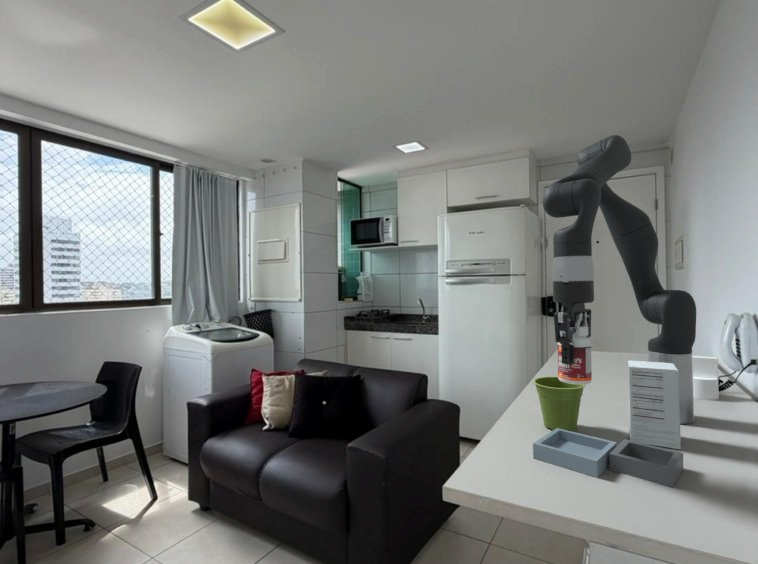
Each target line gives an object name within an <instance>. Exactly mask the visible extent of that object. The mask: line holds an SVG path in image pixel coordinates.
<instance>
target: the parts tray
mask: <svg viewBox="0 0 758 564" xmlns="http://www.w3.org/2000/svg"><path fill="white" fill-rule="evenodd" d="M617 446H618V442H617V441H612V440H608V439H604V438H600V437H596V436H592V435H587V434H584V433H579V432H576V431H567V430H563V429H559V428H556V429H555V430H551V431H550V432H549V433H547V434H545V435H544V436H542V437H541V438H540V439H539V438H538V439H537V440H536V441H534V442H533V443H532V457H533V459H536V460H538V461H541V462H545V463H548V464H551V465H555V466H558V467H560V468H565V469H567V470H569V471H574V472H578V473H580V474H584V475H586V476H591V477H594V478H596V479H598V477H600V475H602V474H603V472H604V471H605V470H606V469H608V467H610V460H609V454H610V453H611V452H612V451H613V450H614V449H615V448H616V447H617Z"/></svg>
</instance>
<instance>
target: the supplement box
mask: <svg viewBox="0 0 758 564" xmlns="http://www.w3.org/2000/svg"><path fill="white" fill-rule="evenodd" d="M627 378H628V382H627V383H628V393H629V394H628V396H629V397H628V422H629V423H628V424H629V440H630V441H634V442H639V443H643V444H647V445H652V446H656V447H660V448H666V449H667V448H668V449H675V450H678V451H679V450H681V448H682V446H681V445H682V443H681V442H682V441H681V440H682V439H681V424H680V403H679V371H678V370H677V368H676V367H675V365H674V364H673V363H663V362H649V361H647V360H646V361H645V360H643V361H642V360H627Z"/></svg>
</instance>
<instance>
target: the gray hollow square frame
mask: <svg viewBox="0 0 758 564" xmlns="http://www.w3.org/2000/svg"><path fill="white" fill-rule="evenodd" d="M609 460H610V465H609V470H611V471H614V472H618V473H621V474H625V475H627V476H632V477H634V478H639V479H641V480H644V481H648V482H653V483H656V484H660V485H662V486H665V487H669V488H674V486H675V484H676V482H677V481H678V479H679V477H680V476H681V474H682V472H683V470H684V452H680V451H679V450H672V449H670V448H668V449H667V448H666V447H661V446H655V445H649V444H643V443H639V442H634V441H630V439H625V438H624V439H623V440H621V442H619V444H617V447H616V448H615V449H614V450H613V451H612V452H611V453H610V454H609Z"/></svg>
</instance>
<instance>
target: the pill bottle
mask: <svg viewBox="0 0 758 564" xmlns="http://www.w3.org/2000/svg"><path fill="white" fill-rule="evenodd" d="M573 328H574V327H570V329H573ZM560 334H561V333H560ZM588 335H589V333H588V326H583V325H582V326H580V327H579V333H578V335H576V336H575V341H574V345H573V346H574V360H575V362H574V364H572V365H569V364H563V363H562V352H561V344H560V343H559V342H557V370H558V371H557V373H558V374H557V377H558V379H559V380H560V381H561V382H564V383H568V384H575V385H585V384H586V385H588V384H591V383H592V379H593V378H592V373H593V371H592V370H593V369H592V342H591V340H590V339H589V338H588V339H587V338H586V337H585V336H588ZM570 336H571V335H570ZM565 337H566V335H565Z"/></svg>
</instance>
